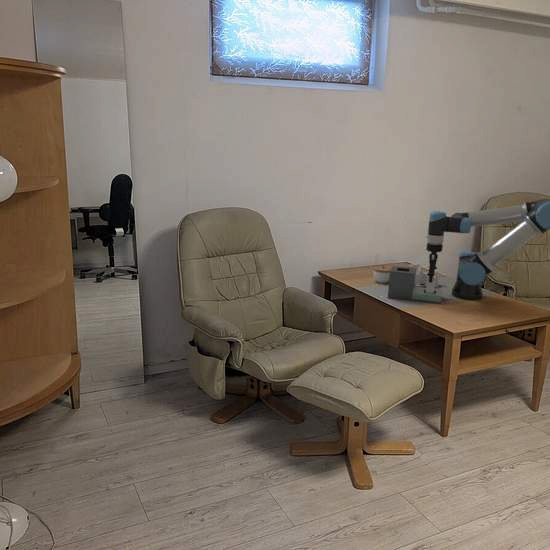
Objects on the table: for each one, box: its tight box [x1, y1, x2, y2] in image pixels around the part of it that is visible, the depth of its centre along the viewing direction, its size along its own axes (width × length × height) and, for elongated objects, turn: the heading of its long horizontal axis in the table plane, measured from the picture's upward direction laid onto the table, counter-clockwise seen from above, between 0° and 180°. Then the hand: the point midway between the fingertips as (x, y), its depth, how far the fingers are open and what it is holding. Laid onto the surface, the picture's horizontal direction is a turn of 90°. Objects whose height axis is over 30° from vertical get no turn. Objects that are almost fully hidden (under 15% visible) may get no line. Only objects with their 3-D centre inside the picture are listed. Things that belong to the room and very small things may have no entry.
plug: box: [425, 276, 437, 294], centre depth 272 cm, size 5×4×11 cm
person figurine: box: [409, 263, 442, 287], centre depth 296 cm, size 13×13×18 cm
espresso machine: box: [387, 265, 444, 305], centre depth 274 cm, size 26×12×14 cm, turn 71°
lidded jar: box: [372, 265, 392, 284], centre depth 302 cm, size 11×11×9 cm
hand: (430, 285), depth 271 cm, fingers open, 12 cm apart
